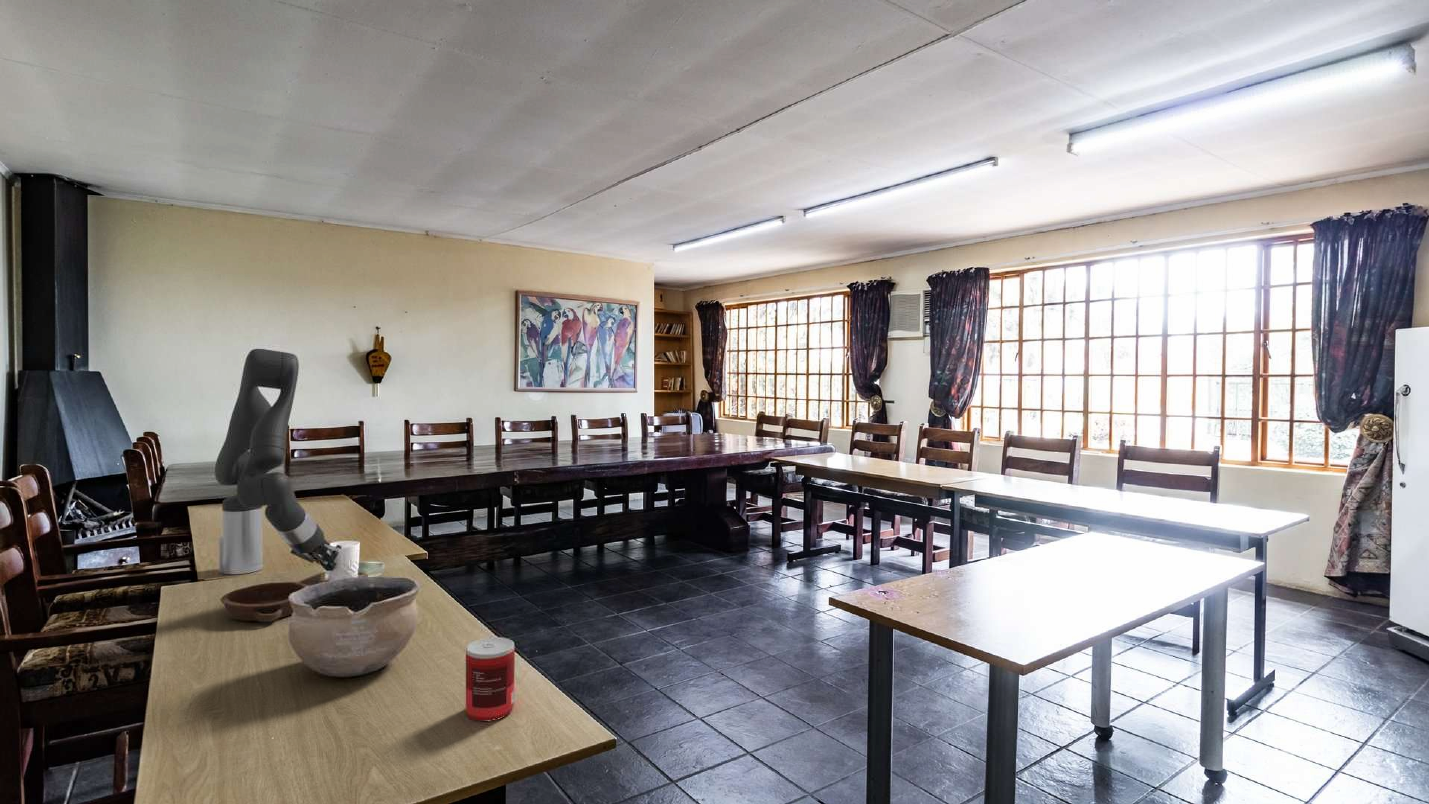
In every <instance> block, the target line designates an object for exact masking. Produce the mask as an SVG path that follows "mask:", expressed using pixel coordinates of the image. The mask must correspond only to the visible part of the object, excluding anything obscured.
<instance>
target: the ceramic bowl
mask: <svg viewBox="0 0 1429 804" xmlns="http://www.w3.org/2000/svg"><path fill="white" fill-rule="evenodd" d="M419 590H420V584H419V582H418V580H415V579H413V578H409V577H402V576H377V577H365V578H362V577H354V578H346V579H340V580H335V581H330V582H329V581H323V582H322V581H321V582H318V583H316V584H314V585H311V586H307V587H305V588H303V589H301V590H299V591H297V592H294V593H291V594H290V595H289V597H288V598H289V601H290V604H291V606H292V608H293V614H291V617H290V620H289V624H288V631H287V632H288V633H287V635H288V641H289V644H290V646H291V648H292V650H293V651H294V652H295V655H296V656H297V657H298V658H299V659H300V660H301V661H302V662H303V663H304V664H305V665H306V666H307V667H309V668H310V669H311V670H313V671H314V672H316V673H319V674H321V675H324V676H328V677H335V678H337V677H338V678H350V677H357V676H363V675H366V674H369V673H372V672H375V671H378V670H380V669H382V668H383V667H385V666H386V665H388V664H389V663H390V662H392V661H393V660H394V659H395V658H397V656H398V655H399V654H400V653H401V652H402V651H403V650H404V649H405V648H406V646H407V645H408V644H409V642H410V640H411V639H412V637H413V636H414V633H415V630H416V628H417V625H418V620H419V612H418V611H419V610H418V605H417V600H416V598H417V596H418V592H419Z"/></svg>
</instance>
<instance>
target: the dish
mask: <svg viewBox="0 0 1429 804" xmlns="http://www.w3.org/2000/svg"><path fill="white" fill-rule="evenodd" d="M307 586H308V585H305V584H302V583H296V581H295V582H292V581H291V582H290V581H287V582H285V581H284V582H267V583H259V584H256V585H255V584H254V585H251V586H247V587H241V588H239V589H234V590H233V591H230V592H228V593H226V594H223V596H222V597H221V598H220V602H221V604H223V606H224V607H225V608H224V609H225V610H226V612H227V614H228V616H229V617H230V618H231V619H234V620H235V621H243V622H260V623H271V622H274V621H276V620H277V621H278V619H281V618H284V617H287V616H290V615H291V616H292V614H293V608H292V606H291V604H290V601H289V598H288V597H289V595H290V594H291V593H294V592H297V591H299V590H301V589H303V588H305V587H307Z"/></svg>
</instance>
